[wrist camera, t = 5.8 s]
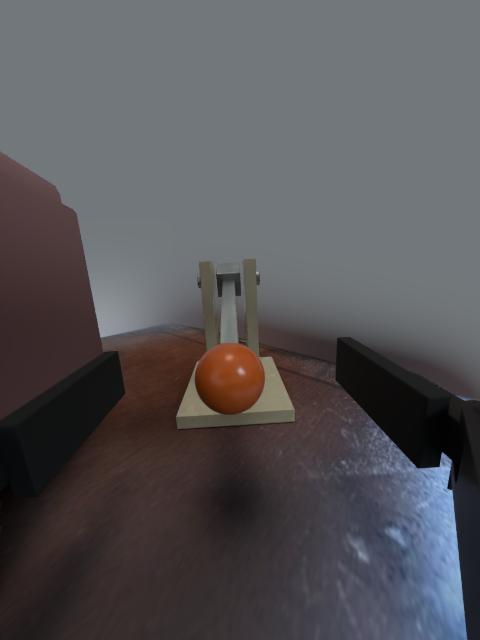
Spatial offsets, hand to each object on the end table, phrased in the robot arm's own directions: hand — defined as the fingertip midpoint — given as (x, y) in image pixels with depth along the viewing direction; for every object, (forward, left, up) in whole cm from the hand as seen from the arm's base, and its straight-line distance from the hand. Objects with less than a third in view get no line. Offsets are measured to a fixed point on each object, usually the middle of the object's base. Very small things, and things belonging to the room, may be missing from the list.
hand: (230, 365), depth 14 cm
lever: (+4, -1, +1) cm, 5 cm away
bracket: (+10, -3, -7) cm, 13 cm away
